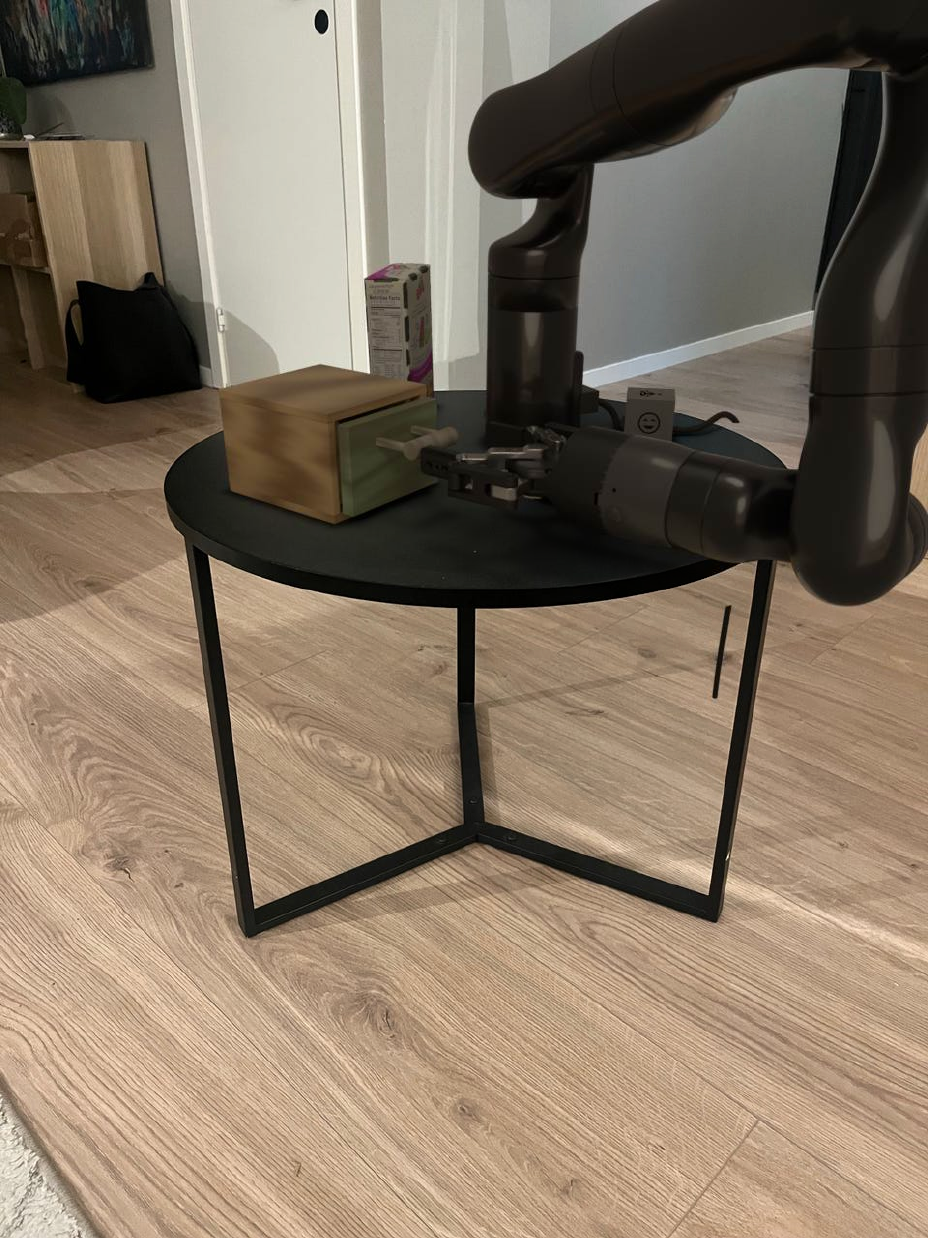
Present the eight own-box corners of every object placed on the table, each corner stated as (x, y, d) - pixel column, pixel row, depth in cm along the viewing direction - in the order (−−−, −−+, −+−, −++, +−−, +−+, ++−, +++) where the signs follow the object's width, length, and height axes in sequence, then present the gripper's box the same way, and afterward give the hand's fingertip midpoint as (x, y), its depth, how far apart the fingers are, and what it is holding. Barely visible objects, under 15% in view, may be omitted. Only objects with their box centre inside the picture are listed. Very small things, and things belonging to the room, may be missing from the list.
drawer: (479, 492, 86) (480, 407, 82) (395, 530, 78) (392, 437, 74) (341, 456, 95) (336, 378, 92) (254, 486, 87) (245, 402, 84)
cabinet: (428, 485, 90) (426, 384, 86) (334, 524, 82) (327, 414, 77) (326, 458, 98) (320, 363, 93) (230, 491, 89) (218, 388, 84)
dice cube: (624, 431, 106) (627, 386, 104) (670, 434, 105) (674, 388, 103) (623, 445, 102) (626, 398, 99) (670, 447, 101) (675, 400, 98)
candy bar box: (395, 404, 116) (390, 262, 109) (435, 406, 116) (433, 263, 108) (369, 429, 107) (361, 275, 99) (412, 432, 106) (408, 277, 98)
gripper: (680, 415, 73) (507, 383, 81) (582, 462, 63) (397, 419, 71) (670, 507, 76) (505, 467, 85) (576, 565, 66) (400, 513, 75)
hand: (456, 445), depth 78 cm, fingers open, 8 cm apart
